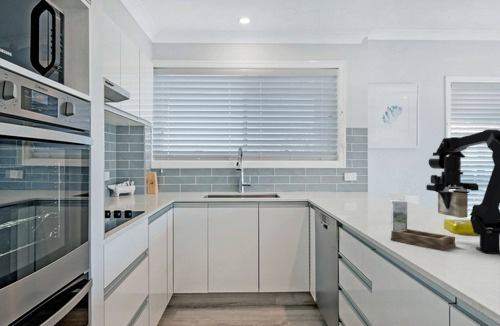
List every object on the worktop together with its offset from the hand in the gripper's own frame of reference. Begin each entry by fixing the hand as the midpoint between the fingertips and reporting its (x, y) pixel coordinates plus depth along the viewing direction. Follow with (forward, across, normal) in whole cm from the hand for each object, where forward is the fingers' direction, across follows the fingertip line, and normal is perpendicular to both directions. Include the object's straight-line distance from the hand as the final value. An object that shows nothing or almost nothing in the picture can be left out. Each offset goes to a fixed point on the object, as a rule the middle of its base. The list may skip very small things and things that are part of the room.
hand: (452, 208), depth 141 cm
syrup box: (+13, +14, -15) cm, 24 cm away
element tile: (+13, -18, -15) cm, 27 cm away
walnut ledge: (+12, +15, +3) cm, 19 cm away
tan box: (+2, 0, 0) cm, 2 cm away
